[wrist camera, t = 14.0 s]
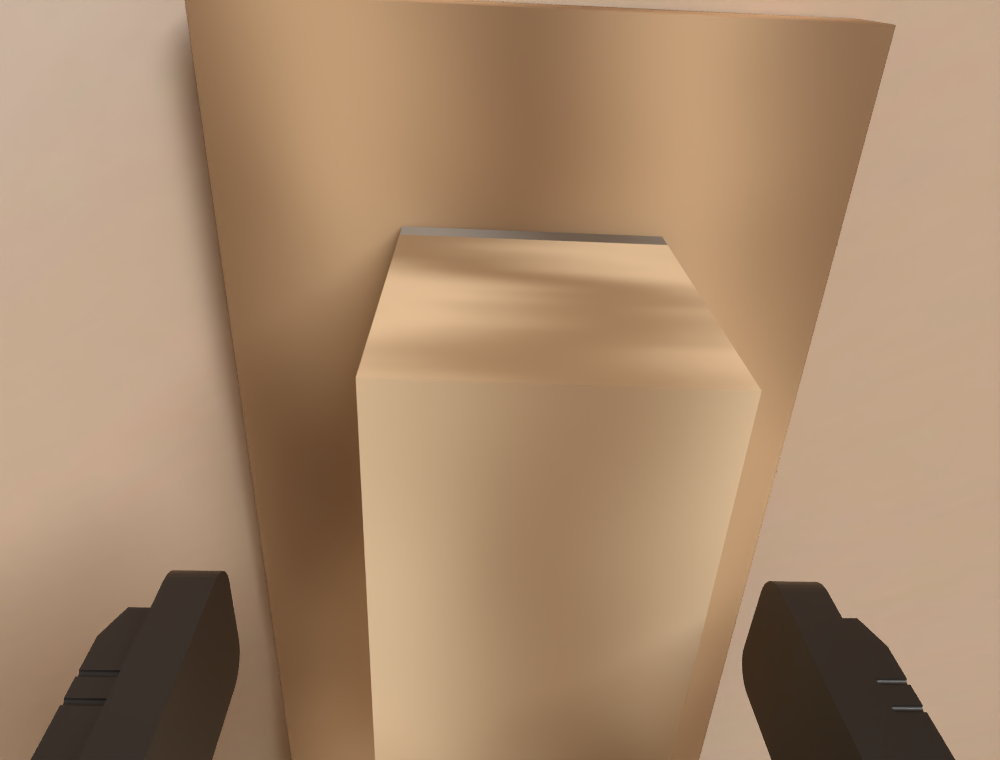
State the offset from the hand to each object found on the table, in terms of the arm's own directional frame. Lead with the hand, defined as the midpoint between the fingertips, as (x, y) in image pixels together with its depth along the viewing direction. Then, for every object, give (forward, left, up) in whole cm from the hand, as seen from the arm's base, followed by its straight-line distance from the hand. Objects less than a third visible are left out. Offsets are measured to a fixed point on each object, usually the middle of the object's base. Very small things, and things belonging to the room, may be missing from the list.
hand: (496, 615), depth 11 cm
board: (+1, -5, -7) cm, 9 cm away
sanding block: (+1, 0, -6) cm, 6 cm away
